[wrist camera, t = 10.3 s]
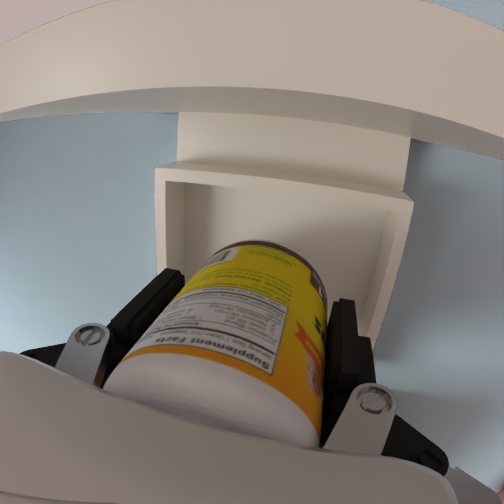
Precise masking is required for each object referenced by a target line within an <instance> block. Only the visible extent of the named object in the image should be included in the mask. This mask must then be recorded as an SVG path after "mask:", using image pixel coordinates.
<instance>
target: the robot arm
mask: <svg viewBox="0 0 504 504" xmlns="http://www.w3.org/2000/svg"><path fill="white" fill-rule="evenodd" d="M184 286H185V276H184V275H182V274H181V271H180V270H175V269H170V268H165V269H164V270H163V271H162V272H161V273H160V274H159V275H157V276H156V277H155V278H154V279H153V280H152V281H151V282H150V283H149V284H148V285H147V286H146V287H145V288H144V289H143V290H142V291H141V292H140V293H139V294H137V295H136V296H135V297H134V298H133V299H132V300H131V301H130V302H129V303H128V304H127V305H126V306H125V307H124V308H123V309H122V310H121V311H120V312H119V313H118V314H117V315H116V316H115V317H114V318H113V319H112V320H111V322H110V323H109V324H108V325H107V326H104V325H102V324H98V323H88V324H84V325H81V326H79V327H77V328H76V329H75V330H74V331H73V332H72V333H71V335H70V337H69V339H68V341H67V343H63V344H58V345H53V346H48V347H42V348H37V349H31V350H27V351H24V352H22V353H20V354H18V353H14V352H7V351H0V504H502V502H501V499H500V497H499V495H498V494H497V493H496V492H495V491H493V490H491V489H490V488H488V487H487V486H485V485H484V484H482V483H481V482H479V481H477V480H476V479H474V478H473V477H471V476H470V475H468V474H467V473H465V472H464V471H462V470H461V469H459V468H458V467H455V468H454V469H452V468H451V467H449V462H448V458H447V456H446V454H445V453H444V452H443V451H442V450H441V449H440V448H439V447H438V446H437V445H435V444H434V443H433V442H431V441H430V440H429V439H427V438H426V437H425V436H423V435H422V434H421V433H420V432H418V431H417V430H416V429H414V428H413V427H412V426H411V425H409V424H408V423H407V422H405V421H404V420H403V419H402V418H400V417H399V416H398V415H397V414H395V412H396V409H397V399H396V396H395V395H394V394H393V392H392V391H391V390H389V389H388V388H387V387H385V386H382V385H380V384H376V377H375V369H374V360H373V352H372V345H371V339H370V337H364V336H358V326H357V316H356V307H355V300H349V299H343V298H340V299H339V302H337V301H334V302H333V305H332V309H331V314H330V318H329V322H328V326H327V347H326V349H327V354H326V367H325V385H324V400H323V412H322V424H321V435H320V443H321V444H322V445H323V446H324V447H323V448H319V447H312V446H305V445H299V444H293V443H287V442H281V441H275V440H270V439H265V438H260V437H255V436H250V435H246V434H241V433H237V432H233V431H229V430H225V429H221V428H217V427H213V426H209V425H205V424H202V423H198V422H195V421H191V420H188V419H185V418H181V417H178V416H175V415H172V414H168V413H165V412H162V411H159V410H156V409H153V408H151V407H148V406H145V405H142V404H139V403H137V402H134V401H131V400H128V399H126V398H123V397H121V396H118V395H115V394H113V393H110V392H108V391H106V390H103V387H104V385H105V383H106V381H107V379H108V378H109V376H110V375H111V373H112V372H113V371H114V369H115V368H116V367H117V365H118V364H119V363H120V362H121V361H122V360H123V358H124V357H125V356H126V355H127V354H128V352H129V351H130V350H131V349H132V348H133V346H134V345H135V344H136V343H137V341H138V340H139V339H140V338H141V337H142V335H143V334H144V333H145V332H146V331H147V329H148V328H149V327H150V326H151V325H152V324H153V322H154V321H155V320H156V319H157V318H158V316H159V315H160V314H161V313H162V312H163V311H164V309H165V308H166V307H167V306H168V305H169V304H170V302H171V301H172V300H173V299H174V298H175V296H176V295H177V294H178V293H179V292H180V291H181V290H182V288H183V287H184Z"/></svg>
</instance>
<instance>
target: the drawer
mask: <svg viewBox="0 0 504 504" xmlns="http://www.w3.org/2000/svg"><path fill="white" fill-rule="evenodd" d="M93 113H179V115H178V133H177V157H176V162H173V163H170V164H166V165H162V166H159V167H155V236H156V261H157V275H159V274H160V273H161V272H162V271H163V270H164V269H165V268H170V269H175V270H180V271H181V274H182V275H184V276H185V285H186V284H187V283H188V282H189V280H190V279H191V278H192V277H193V276H194V274H195V273H196V272H197V271H198V270H199V269H200V268H201V267H202V266H203V265H204V263H205V262H206V261H207V260H208V259H209V258H210V257H211V256H212V255H213V254H214V253H216V252H217V251H218V250H220V249H221V248H223V247H225V246H227V245H229V244H232V243H235V242H238V241H242V240H250V239H263V240H270V241H274V242H278V243H281V244H284V245H286V246H288V247H290V248H292V249H294V250H296V251H297V252H299V253H300V254H301V255H303V256H304V257H305V258H306V259H307V260H308V261H309V262H310V263H311V264H312V265H313V266H314V267H315V269H316V270H317V272H318V273H319V275H320V277H321V279H322V281H323V283H324V286H325V289H326V294H327V302H328V320H327V326H328V322H329V318H330V314H331V309H332V305H333V302H334V301H337V302H339V299H340V298H343V299H349V300H355V307H356V316H357V326H358V336H364V337H370V339H371V345H372V351H373V349H374V346H375V343H376V340H377V337H378V335H379V332H380V329H381V326H382V323H383V320H384V317H385V314H386V311H387V307H388V304H389V301H390V298H391V294H392V291H393V288H394V284H395V281H396V277H397V274H398V270H399V266H400V263H401V259H402V255H403V251H404V247H405V243H406V239H407V235H408V230H409V226H410V221H411V217H412V212H413V207H414V201H413V200H412V199H411V198H410V197H409V196H407V195H406V194H405V193H404V192H403V187H404V181H405V175H406V169H407V162H408V155H409V148H410V141H411V139H415V140H420V141H424V142H428V143H432V144H436V145H439V146H444V147H449V148H454V149H459V150H463V151H468V152H472V153H477V154H481V155H485V156H489V157H493V158H497V159H501V160H504V31H503V30H501V29H499V28H497V27H494V26H492V25H490V24H488V23H485V22H483V21H480V20H478V19H476V18H473V17H470V16H468V15H465V14H463V13H460V12H457V11H454V10H451V9H448V8H445V7H442V6H439V5H436V4H433V3H430V2H426V1H423V0H113V1H109V2H105V3H102V4H99V5H96V6H92V7H90V8H86V9H83V10H80V11H78V12H75V13H72V14H69V15H67V16H64V17H61V18H59V19H56V20H54V21H52V22H49V23H46V24H45V25H42V26H40V27H37V28H35V29H33V30H31V31H29V32H26V33H24V34H22V35H20V36H18V37H16V38H14V39H12V40H10V41H8V42H6V43H4V44H3V45H1V46H0V122H5V121H13V120H20V119H29V118H38V117H48V116H60V115H74V114H93Z"/></svg>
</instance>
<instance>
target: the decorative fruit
mask: <svg viewBox="0 0 504 504" xmlns="http://www.w3.org/2000/svg"><path fill="white" fill-rule="evenodd" d="M498 495H499V497H500V499H501V502H502V504H504V488H503V489H502V490H501V491H500V492H499V493H498Z"/></svg>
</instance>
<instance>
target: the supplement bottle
mask: <svg viewBox="0 0 504 504" xmlns="http://www.w3.org/2000/svg"><path fill="white" fill-rule="evenodd" d="M327 320H328V302H327V294H326V289H325V286H324V283H323V281H322V279H321V277H320V275H319V273H318V272H317V270H316V269H315V267H314V266H313V265H312V264H311V263H310V262H309V261H308V260H307V259H306V258H305V257H304V256H303V255H301V254H300V253H299V252H297V251H296V250H294V249H292V248H290V247H288V246H286V245H284V244H281V243H278V242H274V241H270V240H263V239H250V240H242V241H238V242H235V243H232V244H229V245H227V246H225V247H223V248H221V249H220V250H218V251H217V252H216V253H214V254H213V255H212V256H211V257H210V258H209V259H208V260H207V261H206V262H205V263H204V265H203V266H202V267H201V268H200V269H199V270H198V271H197V272H196V273H195V274H194V276H193V277H192V278H191V279H190V280H189V282H188V283H187V284H186V285H185V286H184V287H183V288H182V290H181V291H180V292H179V293H178V294H177V295H176V296H175V298H174V299H173V300H172V301H171V302H170V304H169V305H168V306H167V307H166V308H165V309H164V311H163V312H162V313H161V314H160V315H159V316H158V318H157V319H156V320H155V321H154V322H153V324H152V325H151V326H150V327H149V328H148V329H147V331H146V332H145V333H144V334H143V335H142V337H141V338H140V339H139V340H138V341H137V343H136V344H135V345H134V346H133V348H132V349H131V350H130V351H129V352H128V354H127V355H126V356H125V357H124V358H123V360H122V361H121V362H120V363H119V364H118V365H117V367H116V368H115V369H114V371H113V372H112V373H111V375H110V376H109V378H108V379H107V381H106V383H105V385H104V387H103V390H106V391H108V392H110V393H113V394H115V395H118V396H121V397H123V398H126V399H128V400H131V401H134V402H137V403H139V404H142V405H145V406H148V407H151V408H153V409H156V410H159V411H162V412H165V413H168V414H172V415H175V416H178V417H181V418H185V419H188V420H191V421H195V422H198V423H202V424H205V425H209V426H213V427H217V428H221V429H225V430H229V431H233V432H237V433H241V434H246V435H250V436H255V437H260V438H265V439H270V440H275V441H281V442H287V443H293V444H299V445H305V446H312V447H319V444H320V435H321V424H322V412H323V400H324V385H325V367H326V354H327V349H326V347H327Z"/></svg>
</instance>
